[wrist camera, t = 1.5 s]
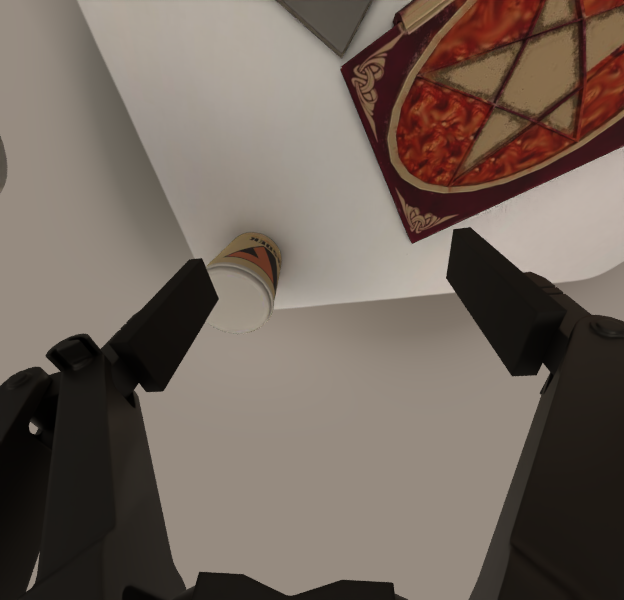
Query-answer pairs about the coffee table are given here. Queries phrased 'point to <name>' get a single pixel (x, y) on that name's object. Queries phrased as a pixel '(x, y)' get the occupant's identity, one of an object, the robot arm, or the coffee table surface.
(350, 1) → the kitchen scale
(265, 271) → the coffee cup
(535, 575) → the robot arm
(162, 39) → the coffee table surface
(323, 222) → the coffee table surface
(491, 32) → the book
